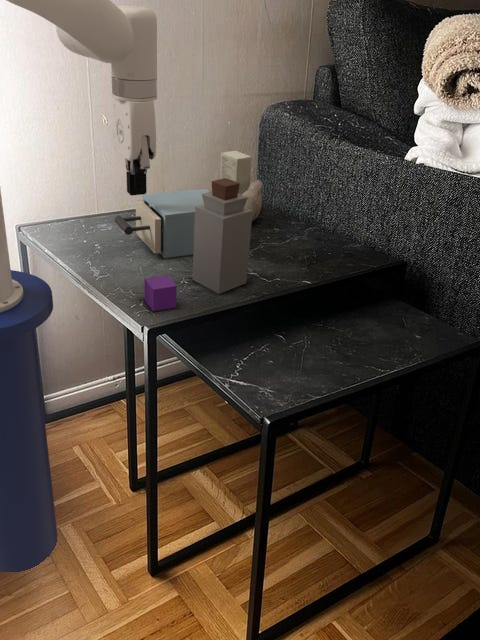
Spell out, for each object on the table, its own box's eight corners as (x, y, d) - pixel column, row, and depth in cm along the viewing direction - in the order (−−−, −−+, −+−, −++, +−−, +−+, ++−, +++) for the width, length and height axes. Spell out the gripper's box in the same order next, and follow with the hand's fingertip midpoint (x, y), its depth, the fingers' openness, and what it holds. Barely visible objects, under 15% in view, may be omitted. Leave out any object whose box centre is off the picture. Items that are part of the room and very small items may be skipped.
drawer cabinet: (164, 258, 115) (165, 215, 110) (143, 235, 123) (142, 194, 119) (228, 249, 121) (231, 207, 116) (204, 228, 129) (206, 188, 125)
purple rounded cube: (153, 311, 97) (153, 289, 95) (144, 300, 100) (144, 278, 98) (176, 307, 99) (177, 285, 97) (167, 296, 102) (167, 274, 100)
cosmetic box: (249, 209, 141) (253, 156, 135) (233, 212, 139) (237, 159, 133) (232, 200, 146) (235, 149, 139) (217, 203, 143) (220, 151, 137)
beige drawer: (129, 257, 112) (128, 222, 108) (111, 236, 119) (110, 203, 116) (215, 245, 119) (216, 212, 116) (193, 226, 127) (194, 195, 124)
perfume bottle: (246, 283, 108) (255, 184, 99) (218, 293, 104) (225, 191, 95) (220, 269, 112) (226, 173, 103) (192, 279, 108) (196, 180, 99)
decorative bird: (222, 232, 128) (225, 198, 124) (244, 209, 141) (247, 177, 137) (247, 237, 127) (250, 202, 123) (266, 213, 140) (270, 181, 136)
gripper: (99, 80, 107) (104, 182, 116) (127, 98, 96) (130, 209, 105) (140, 80, 110) (142, 179, 119) (172, 96, 99) (171, 205, 108)
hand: (136, 193), depth 112 cm, fingers closed
